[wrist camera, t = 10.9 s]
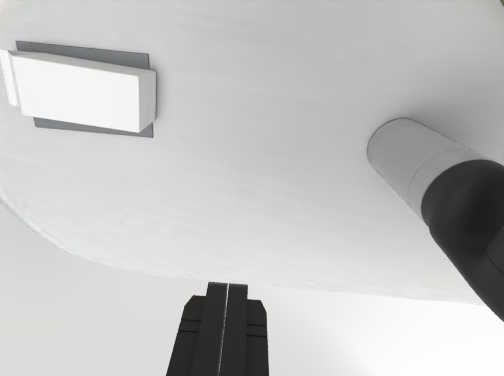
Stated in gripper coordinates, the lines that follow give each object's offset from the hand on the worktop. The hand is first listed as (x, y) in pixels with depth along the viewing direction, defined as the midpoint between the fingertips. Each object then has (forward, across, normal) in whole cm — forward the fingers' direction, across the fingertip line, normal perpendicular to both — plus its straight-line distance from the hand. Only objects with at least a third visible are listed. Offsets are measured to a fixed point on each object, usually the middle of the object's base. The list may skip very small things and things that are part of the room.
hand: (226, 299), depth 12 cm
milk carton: (+33, +13, 0) cm, 36 cm away
